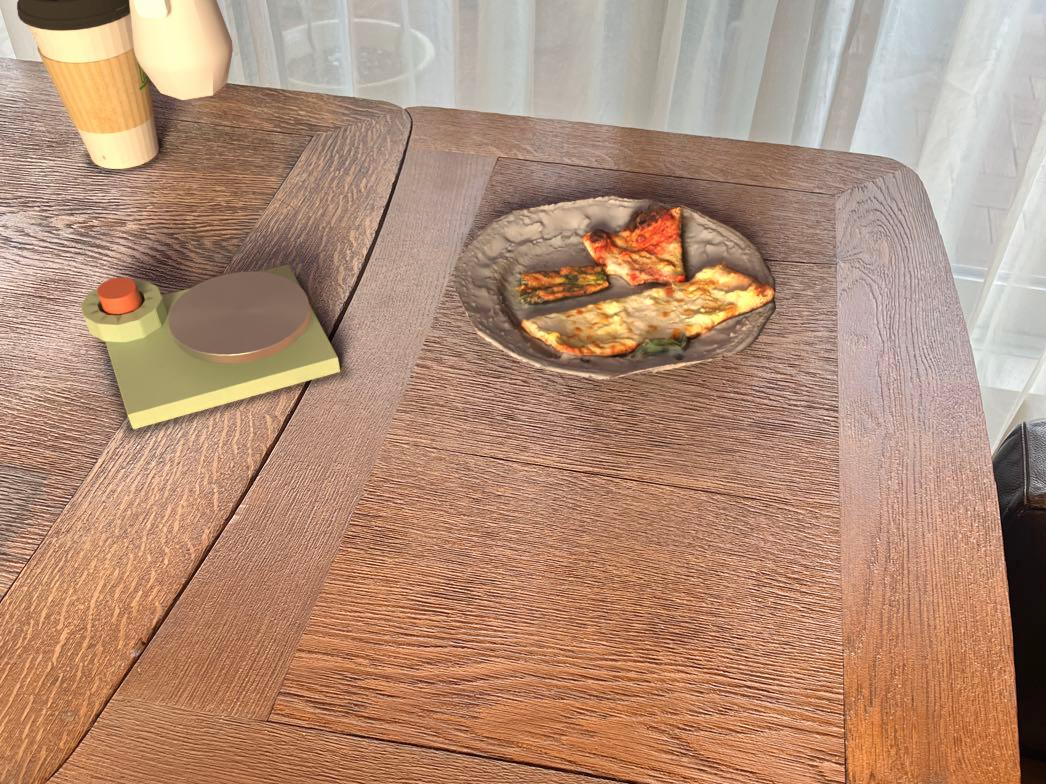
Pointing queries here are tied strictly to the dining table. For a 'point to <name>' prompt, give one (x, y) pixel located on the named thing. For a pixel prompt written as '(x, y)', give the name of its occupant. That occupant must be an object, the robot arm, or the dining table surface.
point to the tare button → (119, 296)
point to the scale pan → (239, 317)
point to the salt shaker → (184, 48)
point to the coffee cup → (96, 76)
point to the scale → (193, 360)
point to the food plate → (614, 287)
